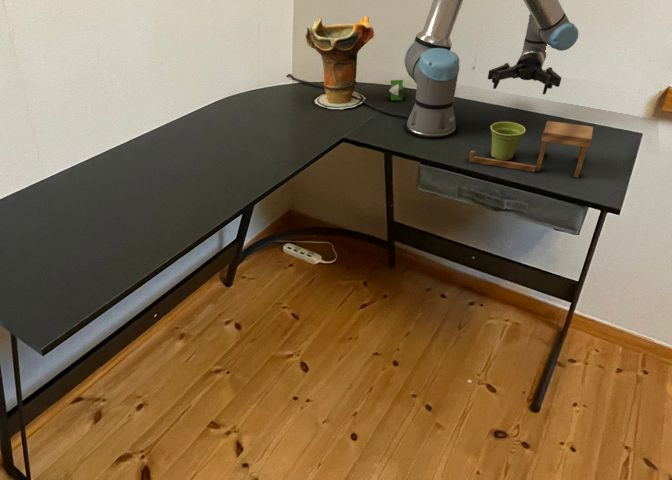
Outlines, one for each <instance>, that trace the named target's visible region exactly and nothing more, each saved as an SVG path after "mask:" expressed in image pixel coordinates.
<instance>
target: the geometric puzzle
mask: <svg viewBox="0 0 672 480" xmlns="http://www.w3.org/2000/svg"><path fill="white" fill-rule="evenodd" d="M389 84H390V87H388V88H387V89H386V93H389V94H388V95H387V96H388V97H390V98H389V100H390V101H403V100H404V97H405V95H406V94H407V92H408V88H406V86H404V85H406V84H405V82H404V79H394V80H393V79H391V80H390V81H389Z"/></svg>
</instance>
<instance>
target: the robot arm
mask: <svg viewBox="0 0 672 480" xmlns="http://www.w3.org/2000/svg"><path fill="white" fill-rule="evenodd" d="M463 2H464V0H432V3H431V5H430V9H429V12H428V15H427V18H426V20H425V23H424V27H423V29H422V30H420V31H419V32H417V33H416V35H415V37H414V40H413V43H411V44H410V45H409V46H408V48H407V49H406V51H405V54H404V67H405V70H406V72H407V74H408V76H409V77H410V78H411V79H412V80H413V82H414V83H415V84H416V90H415V99H414V105H413V107H412V110H411V112H410V114H407V113H399V112H392V111H390V110H385V109H384V108H380V107H377V106H375V105H373V104H371V103H370V102H368V101H366V100H365V101H363V100H361V99H359V98H357V97H355V96H351V97H352V98H355V99H357V100H360V101H362V103H361V104H364V105H366V106H368V107H370V108H372V109H374V110H376V111H377V112H378V111H379V112H381V113H384V114H387V115H391V116H395V117H403V118H407V122H406V131H407V132H409V133H410V134H411V135H413V136H415V137H419V138H424V139H425V138H426V139H443V138H447V137H450V136H452V135H454V134H455V132H456V129H457V128H456V127H457V122H456V116H455V111H454V110H455V109H454V102H455V96H456V89H457V82H458V79H459V78H458V77H459V72H460V57H459V55H458V54H457V53H456V52H455V51H453V50H451V49H452V46H453V43H452V41H451V38H450V37H451V35H452V32H453V29H454V26H455V24H456V21H457V18H458V17H459V13H460V10H461V8H462V5H463ZM523 2H524V4H525V6H526V8H527V9H528V11H529V15H528V21H529V22H528V21H527V27H526V33H525V37H524V40H523V41H524V42H523V45H524V46H522V50H523V51H522V50H521V54H520V56H519V58H518V60H517V62H516V63H515V64H514V65H513V66H510V63H509V62H506V63H504V64H503V65H500V66H497V67H494V68H492V69H489V70H488V74H487V80H491V83H493V86H492V89H494V90H495V89H497V88H498V86H499V84H500V81H502V80H506V79H518V78H519V79H520V80H523V81H531V80H533V81H534V82H536V81H537V82H539V83H542V84H543V85H544V87H543V90H542V95H546V94H547V92H548V89H549V90H550V89H551V90H552V88H553V86H554V87H556V88H558V87H559V88H560V85H561V82H562V76H560V75H559V74H558V73H557V72H555V71H554V70H553V68H552V67H551V66H550V67H547V68H546V69H543V66H544V63H545V61H546V59H547V58H546V52H545V50H546V46H547V44H548V45H549V47H550V48H551V49H554V50H556V51H561V52H563V51H567V50H569V49H571V48H572V47H573V46H574V45H575V44H576V43H577V40H578V38H579V29H578V27H577V26H576V25H575V24H574V23H573V22H571V21H570V19H569V18H568V16H567V13H565V11H564V8H563V7H562V4H561V3H560V1H559V0H523ZM545 58H546V59H545ZM289 77H290V78H291V79H292V80H293V81H295V82H297V83H302V84H305V85H310V86H312V87H313V86H314V87H317V88H321V89H324V86H323V84H320V83H319V84H318V83H315V82H311V81H307V80H303V79H298V78H297V77H294V76H293V75H292V74H291V73H288V74H287V75H286V78H289Z"/></svg>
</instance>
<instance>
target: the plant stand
mask: <svg viewBox="0 0 672 480" xmlns="http://www.w3.org/2000/svg"><path fill="white" fill-rule="evenodd" d="M544 126H545V127H544V129H543V131H542V136H541V140H540V141H541V146H540V150H539V154H538V158H537V161H536V165H534V164H528V163H521V162H514V161H509V160H498V159H496V158H490V157H483V156H478V155H476V150H470V152H469V157H468V158H469V159H468V162H470V163H477V164H481V165H482V164H483V165H488V166H494V167H501V168H507V169H512V170H519V171H526V172H532V173H535V172H541V168H542V165H543V160H544V156H545V154H546V150H547V146H548V143H553V144H561V145H566V146H568V145H569V146H575V147H580V148H579V151H578V154H577V158H576V161H577V164H576V167H575V170H574V173H573V178H580V174H581V170H582V167H583V164H584V161H585V158H586V154H587V151H588V148H589V149H590V147H591V143H592V141H593V133H594V132H593V131H594V126H590V125H582V124H575V123H568V122H559V121H554V120H553V121H552V120H546V123H545V125H544Z"/></svg>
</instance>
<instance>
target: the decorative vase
mask: <svg viewBox="0 0 672 480" xmlns="http://www.w3.org/2000/svg"><path fill="white" fill-rule="evenodd" d="M322 20H323V19H322V18H321V17H319V18H317V19H316V20H315V21H314V22H313V25H312V26H311V25H307V27H306V33H305V40H306V44H307V46H309V47H310V48H312V49H314V50H315V51H316V52H317V53H318V54H319V55H320V56H321V58H320V59H321V60H322V66H323V67H322V68H323V84H322V86H324V88H323V89H324V92H325V93H324V94H320V95H319V96H317V98H315V99H314V104H315V105H318V106H319V107H322V108H325V109H326V108H327V109H330V110H344V109H349V108H350V109H351V108H354V107H357V106H358V105H361V104H363V103H362V101H360V100H357V99H355V98H352V97H351V96H355V97H357V98H359V99H361V100H363V101H366V100H367V97H365V96H364V94H363V95H362V94H361V93H358V92H356V91H355V86H356V85H359V84H358V82H357V81H356V79H357V67H358V66H357V65H358V54H359V52H360V50H361V49H362V48H363V47H364V46H365V45H366V44H368V42H369V41H371V40H372V39H373V38H374V37H375V32H374V27H373V26H371V24H370V18H369V16H367V15H364V16H362V18H361V19H360V21H359V22H354V23H347V22H346V23H333V24H328V25H323V21H322ZM358 91H359V92H361V90H360V87H359V86H358ZM365 99H366V100H365Z"/></svg>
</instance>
